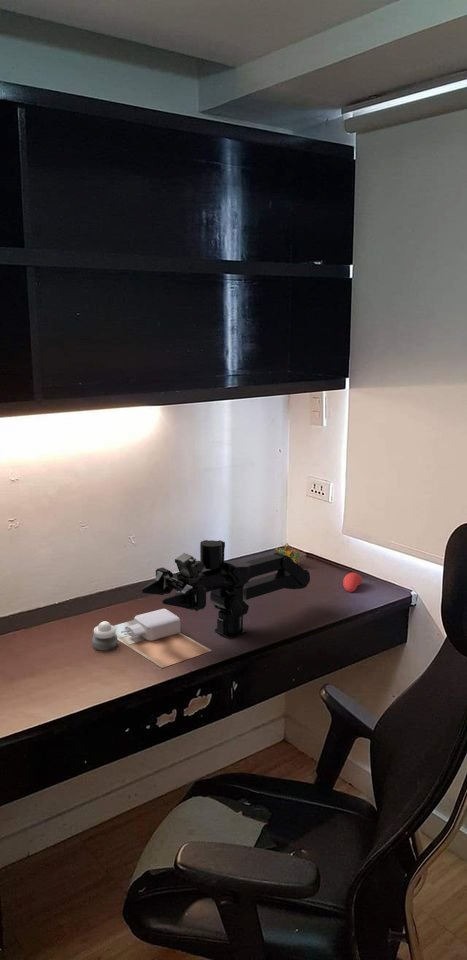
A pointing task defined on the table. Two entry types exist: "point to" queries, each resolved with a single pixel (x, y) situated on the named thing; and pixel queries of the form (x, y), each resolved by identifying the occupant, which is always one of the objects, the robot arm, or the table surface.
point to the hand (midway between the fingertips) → (152, 596)
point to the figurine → (289, 553)
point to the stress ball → (352, 581)
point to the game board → (154, 646)
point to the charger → (154, 625)
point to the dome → (104, 630)
